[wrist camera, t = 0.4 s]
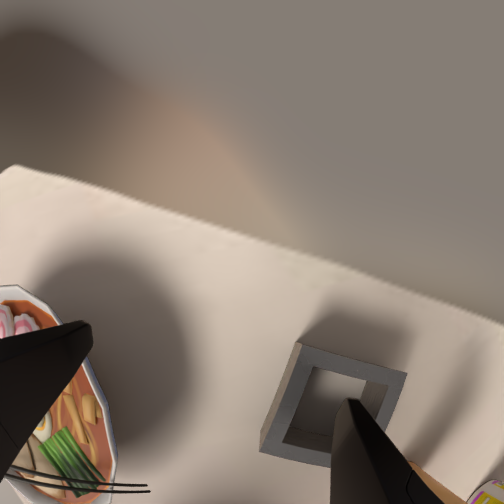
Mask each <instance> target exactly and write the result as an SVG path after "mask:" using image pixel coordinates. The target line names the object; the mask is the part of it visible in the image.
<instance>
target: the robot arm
mask: <svg viewBox="0 0 504 504" xmlns="http://www.w3.org/2000/svg"><path fill="white" fill-rule="evenodd" d="M92 346H93V336H92V328H91V325H90V324H89V323H87V322H85V321H83V320H79V321H74V322H70V323H66V324H62V325H57V326H53V327H49V328H44V329H40V330H36V331H31V332H27V333H22V334H18V335H13V336H8V337H4V338H2V339H1V338H0V483H1V481H2V479H3V478H4V476H5V474H6V473H7V471H8V470H9V468H10V466H11V465H12V463H13V462H14V460H15V459H16V457H17V456H18V454H19V453H20V451H21V449H22V448H23V446H24V445H25V443H26V442H27V440H28V439H29V437H30V436H31V435H32V433H33V432H34V430H35V429H36V427H37V426H38V425H39V423H40V422H41V420H42V419H43V417H44V416H45V415H46V413H47V412H48V411H49V409H50V408H51V406H52V405H53V404H54V402H55V401H56V400H57V398H58V397H59V396H60V394H61V393H62V392H63V390H64V389H65V388H66V386H67V385H68V384H69V383H70V381H71V380H72V378H73V377H74V376H75V374H76V373H77V371H78V369H79V368H80V366H81V364H82V363H83V361H84V359H85V358H86V356H87V355H88V353H89V352H90V350H91V348H92ZM330 504H445V503H444V502H443V501H442V500H441V499H440V498H439V497H438V496H437V495H436V494H435V493H434V492H433V491H432V490H431V489H430V488H429V487H428V486H427V485H426V484H425V482H424V481H423V480H422V479H421V478H420V476H419V475H418V474H417V473H416V471H415V470H414V469H413V470H412V467H411V465H410V464H409V463H408V461H407V460H406V459H405V458H404V456H403V455H402V454H401V453H400V451H399V450H398V449H397V448H396V446H395V445H394V444H393V442H392V441H391V440H390V439H389V437H388V436H387V435H386V434H385V432H384V431H383V430H382V428H381V427H380V426H379V425H378V423H377V422H376V421H375V420H374V418H373V417H372V416H371V414H370V413H369V412H368V411H367V409H366V408H365V407H364V406H363V404H362V403H361V402H360V400H358V399H354V398H346V399H345V400H344V402H343V404H342V405H341V407H340V409H339V411H338V412H337V414H336V417H335V425H334V434H333V443H332V452H331V487H330Z"/></svg>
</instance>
